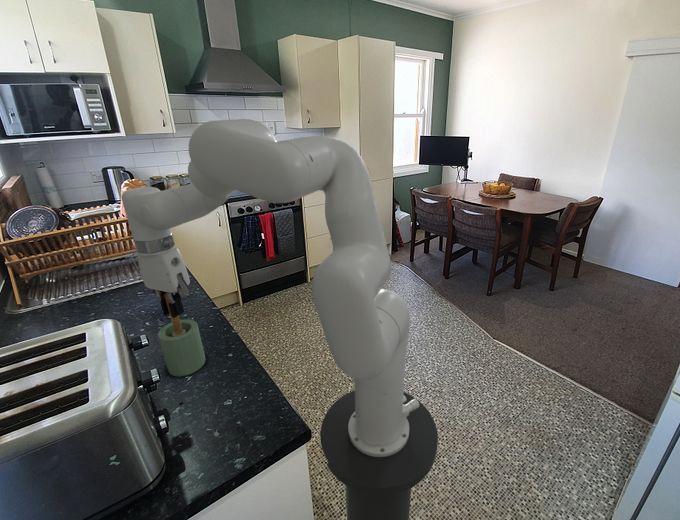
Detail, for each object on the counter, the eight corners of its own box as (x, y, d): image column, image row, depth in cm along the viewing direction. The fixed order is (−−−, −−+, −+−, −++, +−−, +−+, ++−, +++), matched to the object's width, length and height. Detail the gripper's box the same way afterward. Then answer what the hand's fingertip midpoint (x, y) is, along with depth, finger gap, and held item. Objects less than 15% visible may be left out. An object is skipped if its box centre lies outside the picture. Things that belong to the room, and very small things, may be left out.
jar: (201, 349, 96) (193, 315, 92) (208, 367, 89) (200, 331, 85) (165, 361, 92) (155, 326, 87) (170, 381, 85) (160, 345, 81)
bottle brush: (188, 343, 90) (174, 289, 84) (190, 349, 88) (176, 294, 82) (175, 347, 89) (160, 293, 82) (177, 353, 86) (162, 298, 80)
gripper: (195, 241, 78) (210, 311, 85) (144, 234, 83) (162, 301, 90) (167, 254, 71) (187, 328, 79) (114, 245, 77) (136, 316, 84)
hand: (174, 313), depth 84 cm, fingers closed on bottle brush
